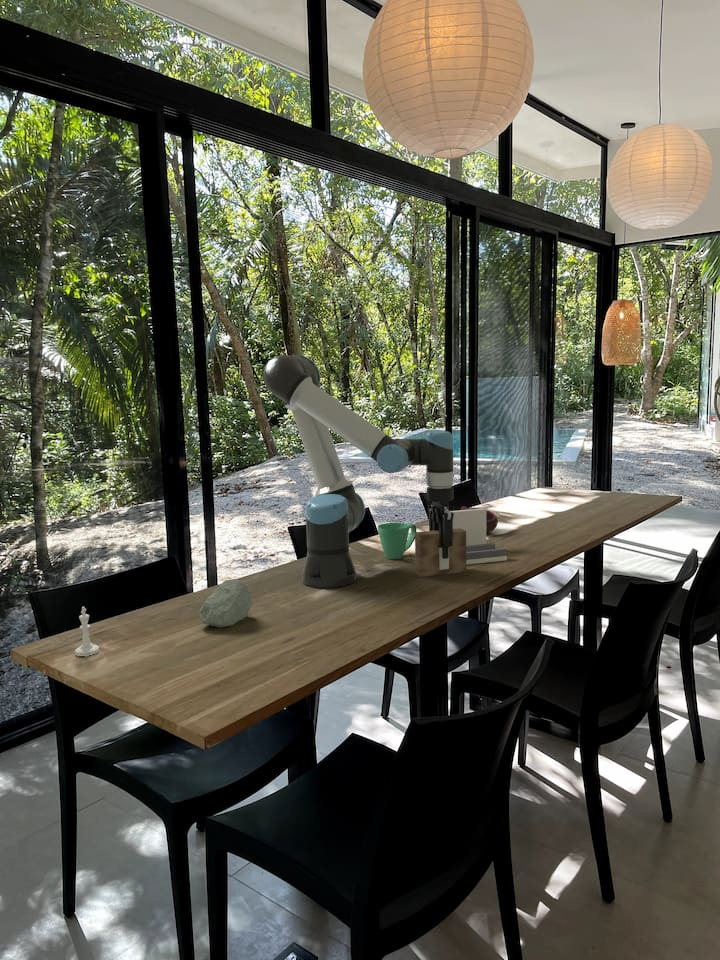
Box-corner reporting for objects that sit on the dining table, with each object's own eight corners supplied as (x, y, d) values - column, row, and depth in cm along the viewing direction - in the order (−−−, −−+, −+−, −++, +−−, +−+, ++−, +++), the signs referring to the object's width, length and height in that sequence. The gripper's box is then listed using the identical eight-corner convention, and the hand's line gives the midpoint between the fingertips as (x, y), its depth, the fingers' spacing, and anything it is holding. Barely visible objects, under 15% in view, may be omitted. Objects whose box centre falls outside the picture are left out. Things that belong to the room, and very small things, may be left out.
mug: (394, 563, 216) (393, 530, 214) (371, 557, 223) (371, 526, 221) (426, 553, 226) (426, 522, 224) (403, 548, 233) (403, 518, 231)
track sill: (454, 565, 211) (454, 522, 209) (434, 553, 226) (434, 512, 224) (506, 560, 216) (507, 517, 214) (483, 548, 231) (483, 508, 229)
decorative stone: (241, 608, 178) (214, 580, 175) (267, 600, 170) (240, 571, 167) (212, 648, 169) (184, 619, 166) (239, 642, 162) (210, 612, 159)
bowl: (504, 531, 254) (504, 509, 253) (488, 538, 244) (488, 515, 243) (463, 526, 264) (463, 505, 262) (446, 533, 253) (446, 511, 252)
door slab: (420, 576, 201) (419, 535, 199) (415, 573, 205) (414, 532, 203) (466, 571, 204) (466, 530, 203) (460, 568, 208) (460, 528, 206)
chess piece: (102, 647, 154) (98, 602, 153) (95, 656, 150) (91, 610, 148) (79, 648, 154) (75, 603, 153) (71, 657, 149) (67, 611, 148)
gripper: (464, 489, 194) (465, 573, 197) (440, 481, 210) (441, 558, 213) (439, 491, 192) (440, 576, 195) (416, 483, 208) (418, 560, 211)
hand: (440, 566), depth 204 cm, fingers closed on door slab, 4 cm apart
